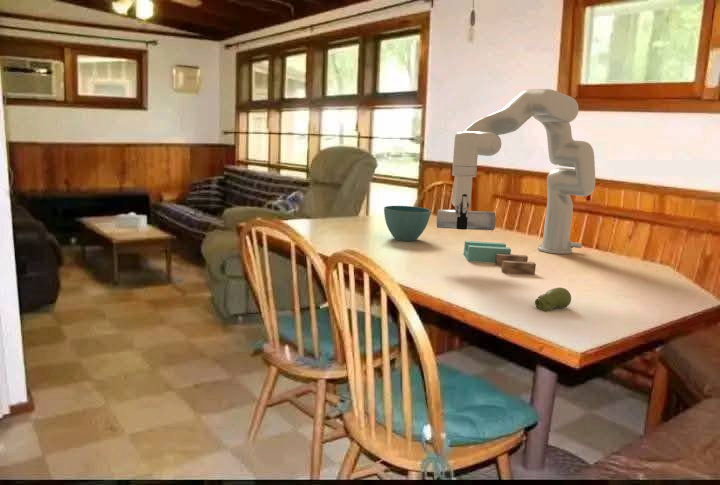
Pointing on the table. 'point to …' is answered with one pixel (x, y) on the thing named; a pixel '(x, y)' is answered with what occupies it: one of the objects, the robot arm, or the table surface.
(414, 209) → the teal bowl
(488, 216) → the steel axle
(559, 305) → the pear
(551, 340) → the table surface
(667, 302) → the table surface
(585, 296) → the table surface
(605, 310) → the table surface
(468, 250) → the teal V-block
